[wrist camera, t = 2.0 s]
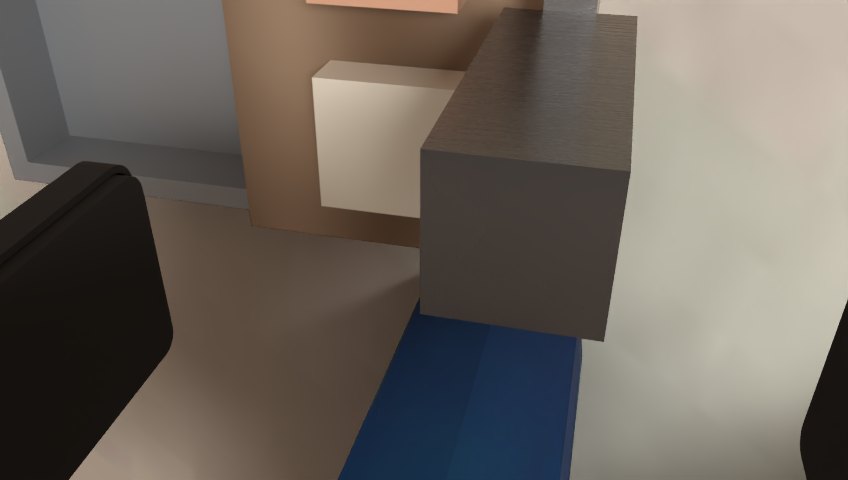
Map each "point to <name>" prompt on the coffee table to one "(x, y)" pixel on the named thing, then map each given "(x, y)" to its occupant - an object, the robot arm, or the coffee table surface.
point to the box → (122, 94)
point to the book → (471, 405)
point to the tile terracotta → (401, 4)
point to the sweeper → (532, 174)
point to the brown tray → (294, 106)
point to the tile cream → (376, 132)
